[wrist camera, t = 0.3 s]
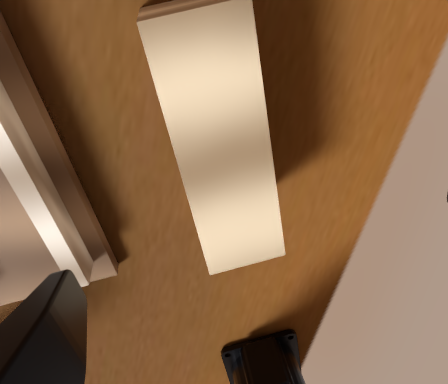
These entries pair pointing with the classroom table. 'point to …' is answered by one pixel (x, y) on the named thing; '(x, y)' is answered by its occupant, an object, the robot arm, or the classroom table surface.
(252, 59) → the white block
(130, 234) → the classroom table surface
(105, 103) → the classroom table surface
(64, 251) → the airplane cradle
